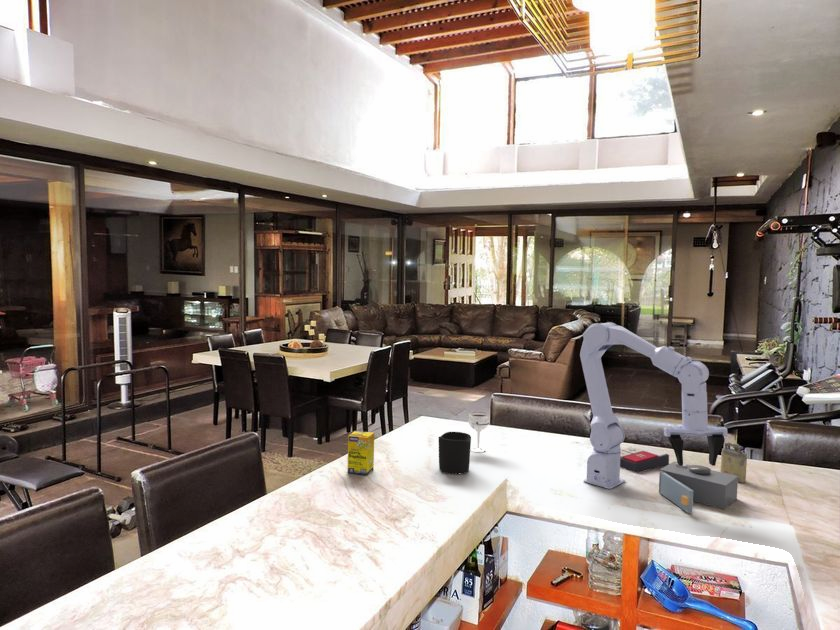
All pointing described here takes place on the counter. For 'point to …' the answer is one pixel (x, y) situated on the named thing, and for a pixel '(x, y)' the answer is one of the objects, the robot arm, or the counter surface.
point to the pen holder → (454, 452)
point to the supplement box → (360, 452)
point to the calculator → (642, 458)
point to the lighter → (734, 461)
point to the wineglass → (478, 423)
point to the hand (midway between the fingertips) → (696, 464)
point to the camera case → (705, 483)
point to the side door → (676, 492)
